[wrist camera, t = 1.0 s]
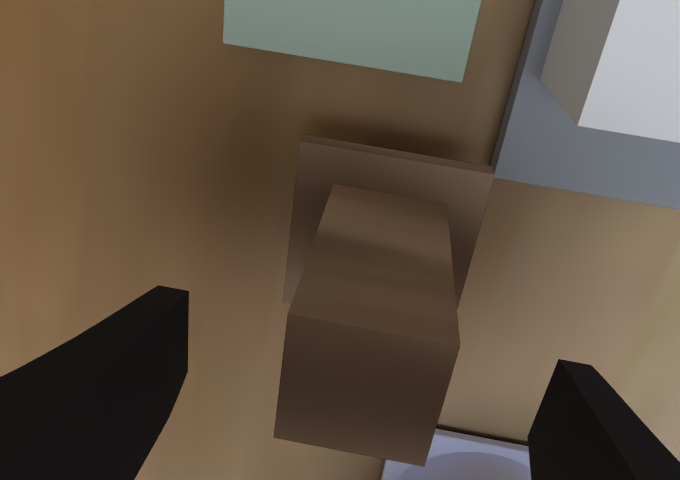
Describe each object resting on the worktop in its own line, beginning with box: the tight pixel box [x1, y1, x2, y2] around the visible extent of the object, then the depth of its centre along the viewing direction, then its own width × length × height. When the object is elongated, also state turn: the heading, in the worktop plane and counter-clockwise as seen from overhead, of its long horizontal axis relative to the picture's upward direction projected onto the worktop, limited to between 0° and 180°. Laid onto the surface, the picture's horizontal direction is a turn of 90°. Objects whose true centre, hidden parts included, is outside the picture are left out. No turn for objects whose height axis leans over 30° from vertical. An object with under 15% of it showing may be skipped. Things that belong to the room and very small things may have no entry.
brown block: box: [274, 134, 495, 467], centre depth 15 cm, size 5×5×10 cm
